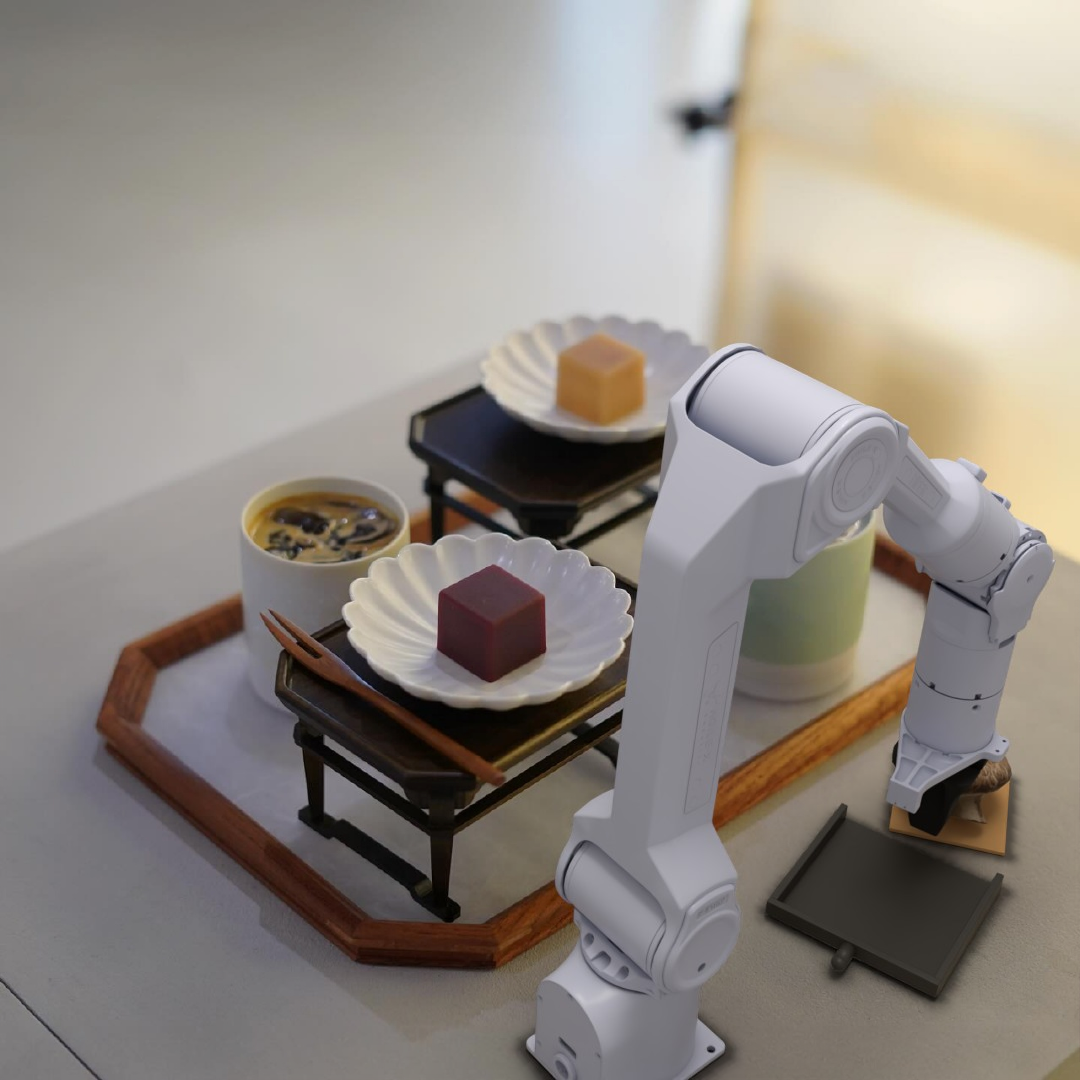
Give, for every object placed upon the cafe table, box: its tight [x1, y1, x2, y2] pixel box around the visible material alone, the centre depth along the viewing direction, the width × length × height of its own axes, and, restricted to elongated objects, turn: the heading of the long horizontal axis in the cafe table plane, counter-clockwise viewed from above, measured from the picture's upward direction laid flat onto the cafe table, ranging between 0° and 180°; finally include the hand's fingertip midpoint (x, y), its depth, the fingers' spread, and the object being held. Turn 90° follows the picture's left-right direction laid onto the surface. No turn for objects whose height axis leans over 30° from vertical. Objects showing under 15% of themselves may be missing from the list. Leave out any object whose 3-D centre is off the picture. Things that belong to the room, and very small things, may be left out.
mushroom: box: [950, 755, 1013, 824], centre depth 108 cm, size 8×8×6 cm
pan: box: [764, 802, 1005, 998], centre depth 101 cm, size 14×12×2 cm
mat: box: [888, 779, 1011, 857], centre depth 110 cm, size 8×8×1 cm
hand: (926, 826), depth 105 cm, fingers closed
